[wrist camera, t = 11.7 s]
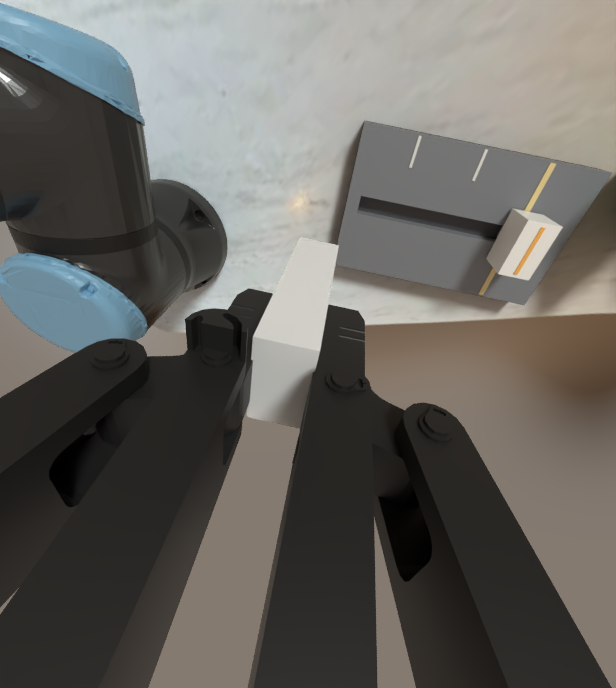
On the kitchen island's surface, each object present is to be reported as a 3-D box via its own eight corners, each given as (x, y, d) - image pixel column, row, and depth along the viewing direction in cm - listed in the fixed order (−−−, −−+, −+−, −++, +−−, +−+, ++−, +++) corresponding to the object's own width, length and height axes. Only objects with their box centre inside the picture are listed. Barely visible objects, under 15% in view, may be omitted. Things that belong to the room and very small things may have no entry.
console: (334, 255, 46) (332, 264, 43) (364, 120, 36) (364, 121, 34) (515, 294, 46) (524, 305, 43) (595, 168, 36) (612, 173, 33)
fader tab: (482, 254, 41) (498, 274, 36) (507, 204, 37) (528, 220, 33) (509, 259, 41) (529, 281, 36) (537, 211, 37) (563, 227, 33)
